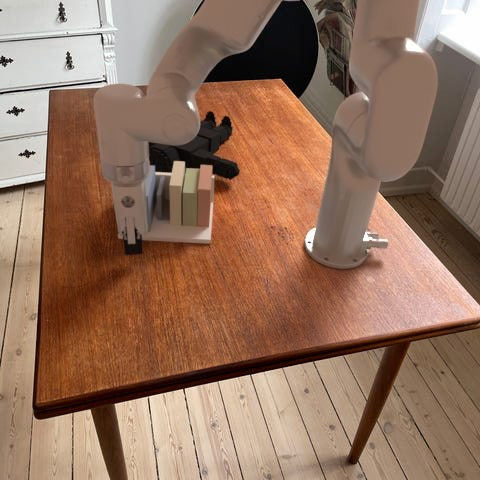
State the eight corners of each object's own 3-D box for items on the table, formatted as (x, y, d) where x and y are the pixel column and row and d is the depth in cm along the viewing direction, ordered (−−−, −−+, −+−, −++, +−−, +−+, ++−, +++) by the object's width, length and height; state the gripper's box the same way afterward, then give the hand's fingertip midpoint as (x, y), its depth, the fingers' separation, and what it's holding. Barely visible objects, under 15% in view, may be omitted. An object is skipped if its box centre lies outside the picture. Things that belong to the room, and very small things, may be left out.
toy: (275, 130, 125) (217, 174, 103) (271, 158, 130) (214, 206, 107) (167, 98, 136) (92, 131, 113) (166, 124, 140) (94, 161, 118)
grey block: (156, 200, 106) (154, 165, 101) (150, 232, 98) (148, 196, 92) (137, 199, 106) (135, 164, 101) (129, 231, 97) (126, 195, 92)
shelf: (213, 202, 109) (215, 160, 102) (210, 243, 98) (212, 199, 91) (130, 198, 108) (126, 155, 101) (118, 238, 97) (113, 194, 90)
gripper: (151, 189, 74) (156, 278, 86) (147, 141, 85) (152, 225, 97) (99, 191, 73) (112, 282, 84) (102, 142, 84) (113, 227, 96)
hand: (133, 251), depth 91 cm, fingers closed
